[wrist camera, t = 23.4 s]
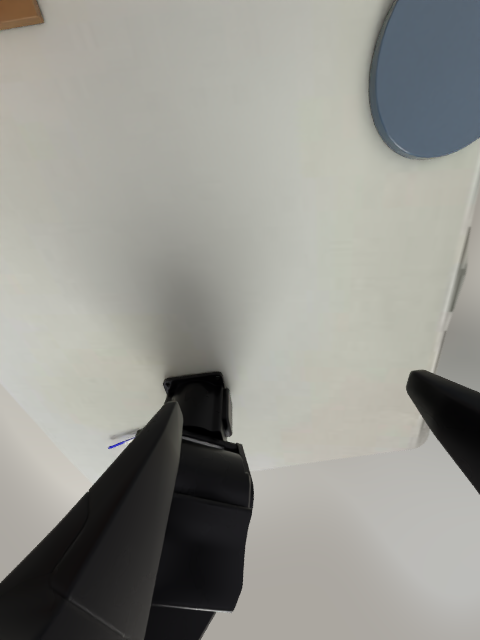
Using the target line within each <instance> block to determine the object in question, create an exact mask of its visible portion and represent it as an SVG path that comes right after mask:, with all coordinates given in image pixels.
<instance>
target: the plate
mask: <svg viewBox="0 0 480 640" xmlns="http://www.w3.org/2000/svg"><path fill="white" fill-rule="evenodd" d="M369 98H370V107H371V113H372V117H373V121H374V124H375V126H376V129H377V131H378V133H379V135H380V136H381V138H382V139H383V141H384V142H385V143H386V144H387V145H388V147H389V148H391V149H392V150H393V151H395V152H396V153H397V154H399V155H402V156H404V157H407V158H410V159H417V160H426V159H433V158H437V157H441V156H445V155H448V154H451V153H454V152H456V151H458V150H460V149H462V148H464V147H466V146H468V145H469V144H471V143H472V142H474V141H475V140H477V139H478V138H479V137H480V0H395V1H394V3H393V5H392V7H391V9H390V11H389V13H388V14H387V17H386V19H385V21H384V24H383V26H382V29H381V31H380V34H379V37H378V40H377V43H376V46H375V50H374V55H373V59H372V64H371V71H370V81H369Z"/></svg>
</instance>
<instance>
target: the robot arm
mask: <svg viewBox="0 0 480 640" xmlns="http://www.w3.org/2000/svg"><path fill="white" fill-rule="evenodd" d="M216 376H219V377H216ZM168 383H170V384H168ZM163 386H164V388H165V391H166V394H167V397H166V400H165V403H164V405H163V406H162V408H161V409H160V410H159V411H158V412H157V413H156V414H155V416H154V417H153V418H152V419H151V420H150V421H149V422H148V423H147V425H146V426H145V427H144V428H143V429H142V430H139V431H138V432H137V434H136V436H135V438H134V439H133V440H132V442H131V443H130V444H129V445H128V446H127V447H126V448H125V449H124V451H123V452H122V453H121V454H120V455H119V456H118V457H117V459H116V460H115V461H114V462H113V463H112V464H111V465H110V466H109V468H108V469H107V470H106V471H105V472H104V473H103V474H102V476H101V477H100V478H99V479H98V480H97V481H96V482H95V483H94V485H93V486H92V487H91V488H90V489H89V492H87V493H86V494H85V495H84V496H83V497H82V498H81V499H80V500H79V501H78V503H77V504H76V505H75V506H74V507H73V508H72V509H71V510H70V512H69V513H68V514H67V515H66V516H65V517H64V518H63V519H62V520H61V521H60V522H59V524H58V525H57V526H56V527H55V528H54V529H53V530H52V531H51V532H50V533H49V534H48V535H47V536H46V537H45V538H44V539H43V540H42V541H41V542H40V543H39V544H38V545H37V547H35V548H34V549H33V550H32V552H31V553H30V554H29V555H28V556H27V557H26V558H25V559H24V560H23V561H22V562H21V563H20V564H19V565H18V566H17V567H16V568H15V569H14V570H13V571H12V572H11V573H10V574H9V575H8V576H7V577H6V578H5V579H4V580H3V581H2V582H1V583H0V640H201V638H202V636H203V634H204V633H205V631H206V629H207V627H208V625H209V624H210V622H211V620H212V619H213V617H214V615H215V614H216V612H225V613H232V611H233V610H234V608H235V606H236V603H237V601H238V598H239V595H240V593H241V590H242V585H243V568H244V554H245V544H246V538H247V531H248V527H249V523H250V519H251V515H252V508H253V500H254V498H253V497H254V491H253V490H254V489H253V482H252V478H251V475H250V471H249V467H248V464H247V460H246V457H245V453H244V450H243V446H242V444H239V443H236V444H235V443H231V442H228V441H227V437H230V436H231V435H232V401H231V397H230V392H229V389H228V388H225V384H224V380H223V375H222V373H221V372H213V373H205V374H197V375H190V376H182V377H174V378H167V379H165V380H164V383H163ZM406 390H407V393H408V395H409V396H410V398H411V399H412V401H413V403H414V404H415V406H416V407H417V409H418V411H419V412H420V414H421V415H422V417H423V418H424V420H425V422H426V423H427V425H428V426H429V428H430V429H431V431H432V432H433V434H434V435H435V436H436V438H437V439H438V440H439V441H440V443H441V444H442V446H443V447H444V448H445V450H446V451H447V452H448V453H449V455H450V456H451V457H452V459H453V460H454V461H455V463H456V464H457V465H458V466H459V468H460V469H461V470H462V472H463V473H464V474H465V476H466V477H467V478H468V480H469V481H470V482H471V483H472V485H473V486H474V487H475V489H476V490H477V491H478V493H479V494H480V393H479V392H477V391H474V390H472V389H469V388H467V387H465V386H462V385H460V384H457V383H455V382H452V381H450V380H448V379H445V378H443V377H440V376H438V375H436V374H433V373H431V372H428V371H426V370H415V371H411V372H410V374H409V378H408V382H407V385H406Z"/></svg>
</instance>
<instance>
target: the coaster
mask: <svg viewBox="0 0 480 640" xmlns="http://www.w3.org/2000/svg"><path fill="white" fill-rule="evenodd" d="M39 23H44V20H43V18H42V15H41V12H40V9H39V6H38V4H37V1H36V0H0V30H5V29H11V28H17V27H22V26H28V25H34V24H39Z"/></svg>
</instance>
